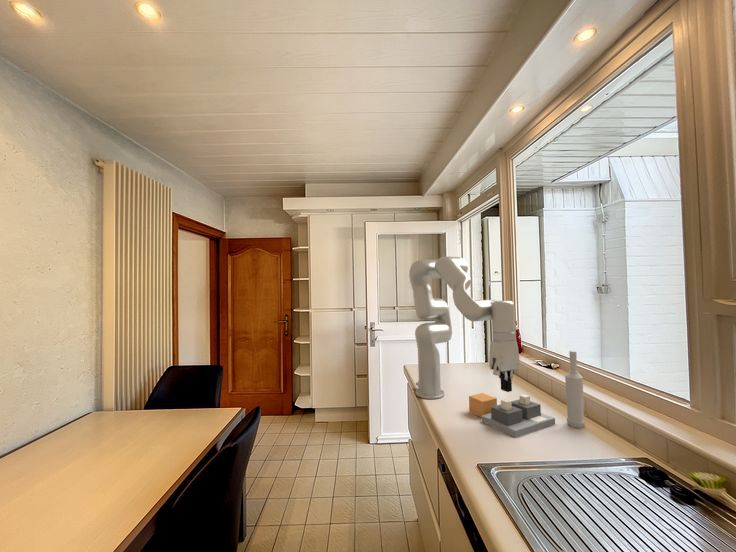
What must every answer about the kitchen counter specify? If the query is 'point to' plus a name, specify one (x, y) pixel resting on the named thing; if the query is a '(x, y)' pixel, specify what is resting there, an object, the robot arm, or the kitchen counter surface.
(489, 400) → the orange cube-like block
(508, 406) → the toggle near
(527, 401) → the toggle far
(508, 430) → the panel
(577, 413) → the bottle
